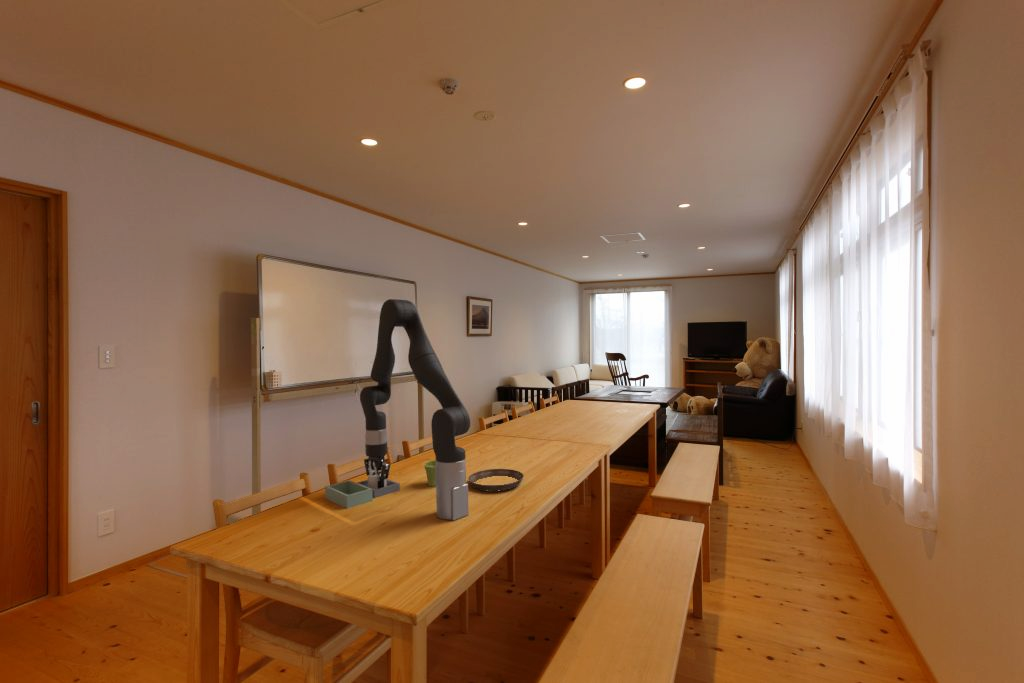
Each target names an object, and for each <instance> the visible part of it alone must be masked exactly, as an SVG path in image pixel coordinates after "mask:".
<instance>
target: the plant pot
mask: <svg viewBox="0 0 1024 683" xmlns="http://www.w3.org/2000/svg"><path fill="white" fill-rule="evenodd" d="M422 464H423V467H424V470H425V474H426V479H427V485H428V487H432V488H434V487H435V488H436V459H435V460H429V461H425V462H424V463H422Z"/></svg>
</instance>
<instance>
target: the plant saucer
mask: <svg viewBox="0 0 1024 683" xmlns="http://www.w3.org/2000/svg"><path fill="white" fill-rule="evenodd" d="M492 476H508V477H512V478H515V479H517V480H518V481H516V482H513V483H509V484H504V485H481V484H476V483H474V482H476V481H477V480H479V479H483V478H487V477H492ZM524 477H525V475H524V473H523V472H521V471H520V470H516V469H510V468H492V469H484V470H479V471H476V472H473V473H471V474H470V475H469V476H468V477H467V479H468V481H469V483H470V484H471V485H472V486H473V487H474V488H476V489H477V488H478V489H477V490H479V489H481V490H480V491H483V490H488V491H487V492H499V491H498V490H505V491H507V490H506V489H509V490H511V489H510V488H512V489H514V488H516V487H517V486H518V485H520V484H521V482H522V481H523V479H524ZM513 487H514V488H513Z"/></svg>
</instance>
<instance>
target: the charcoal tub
mask: <svg viewBox="0 0 1024 683" xmlns="http://www.w3.org/2000/svg"><path fill="white" fill-rule="evenodd" d="M386 480H387V486H386V487H382V488H379V489H373V488H371V489H372V497H373V498H374V499H376V498H380V497H383V496H386V495H390V494H393V493H396V492H397V493H398V492H400V489H401V488H400V486H401V483H400V482H396V481H393V480H391V479H389V478H388V479H386ZM356 483H358V484H361V485H363V486H366V487H368V479H364V480H361V481H358V482H356ZM369 488H370V487H369Z"/></svg>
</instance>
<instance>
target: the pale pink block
mask: <svg viewBox="0 0 1024 683" xmlns="http://www.w3.org/2000/svg"><path fill="white" fill-rule="evenodd" d="M380 476H381V474H380ZM367 480H368V487H370V488H373V489H378V480H377V475H372V476H369V475H368V476H367ZM386 486H387V480H386V479H385V480H384V487H386Z"/></svg>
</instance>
